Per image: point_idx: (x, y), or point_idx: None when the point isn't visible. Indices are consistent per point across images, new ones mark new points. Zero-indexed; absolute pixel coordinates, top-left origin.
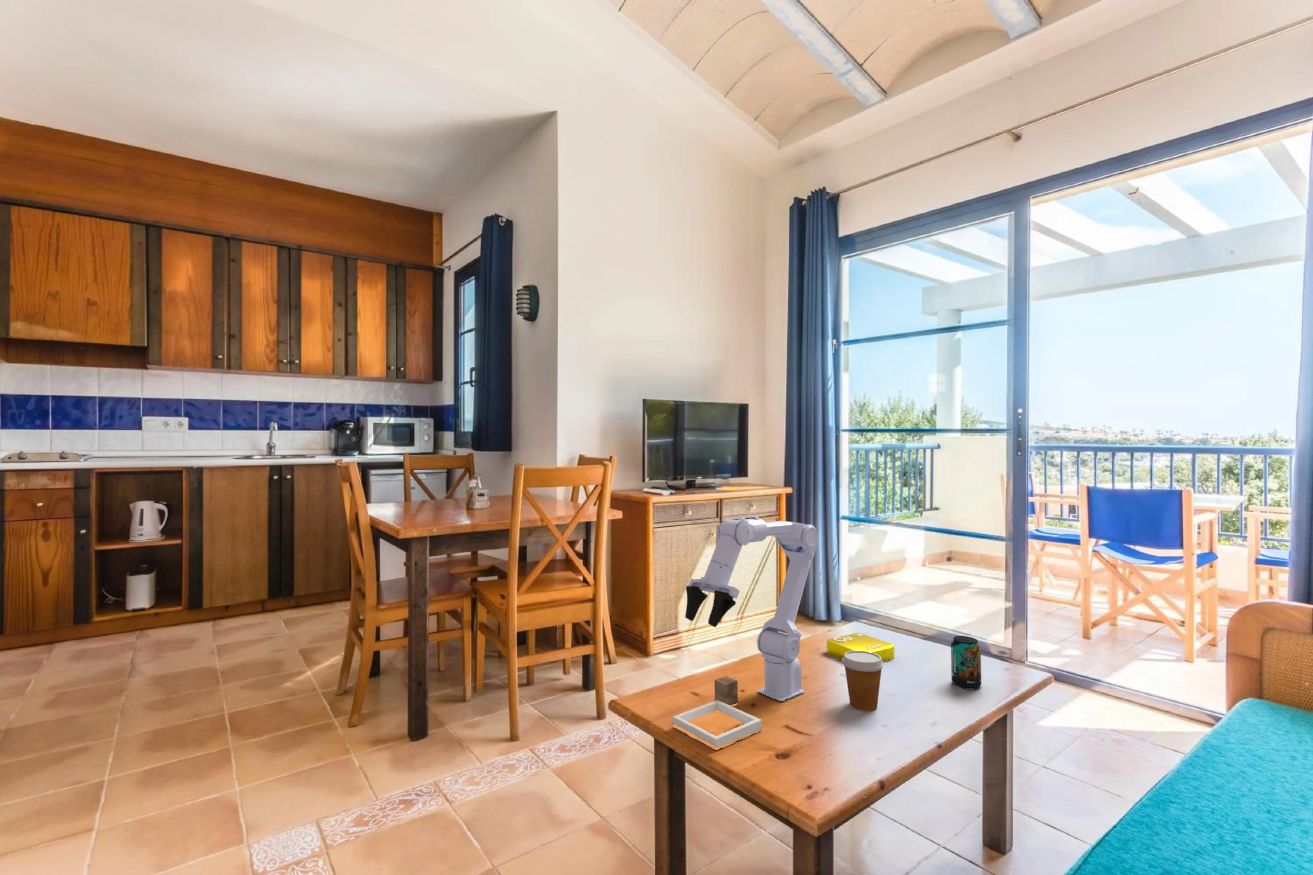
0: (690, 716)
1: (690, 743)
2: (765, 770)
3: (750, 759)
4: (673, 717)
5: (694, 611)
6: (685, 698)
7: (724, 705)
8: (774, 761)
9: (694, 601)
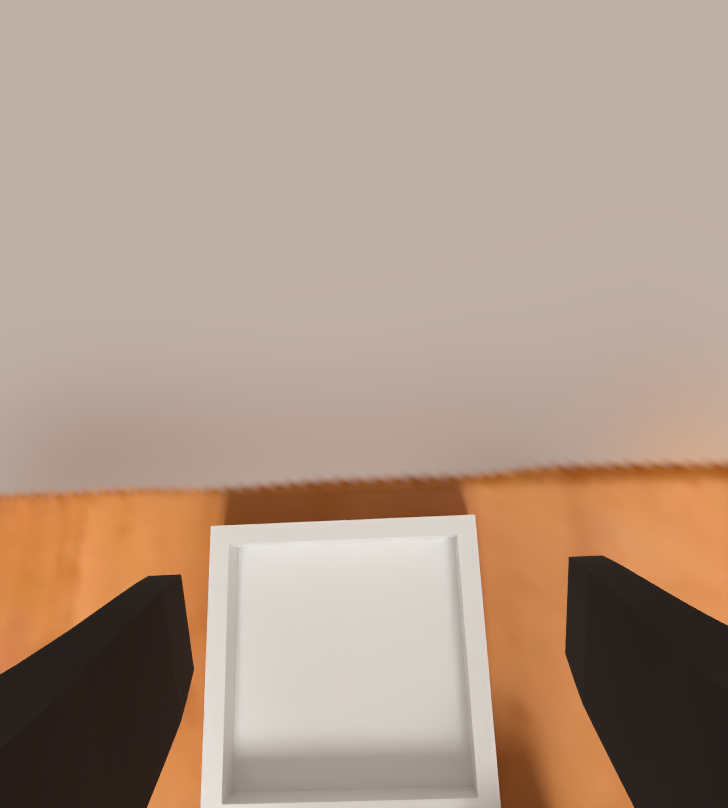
0: (461, 603)
1: (327, 493)
2: (21, 578)
3: (102, 590)
4: (471, 515)
5: (613, 717)
6: None
7: (428, 801)
8: (32, 652)
9: (691, 767)
